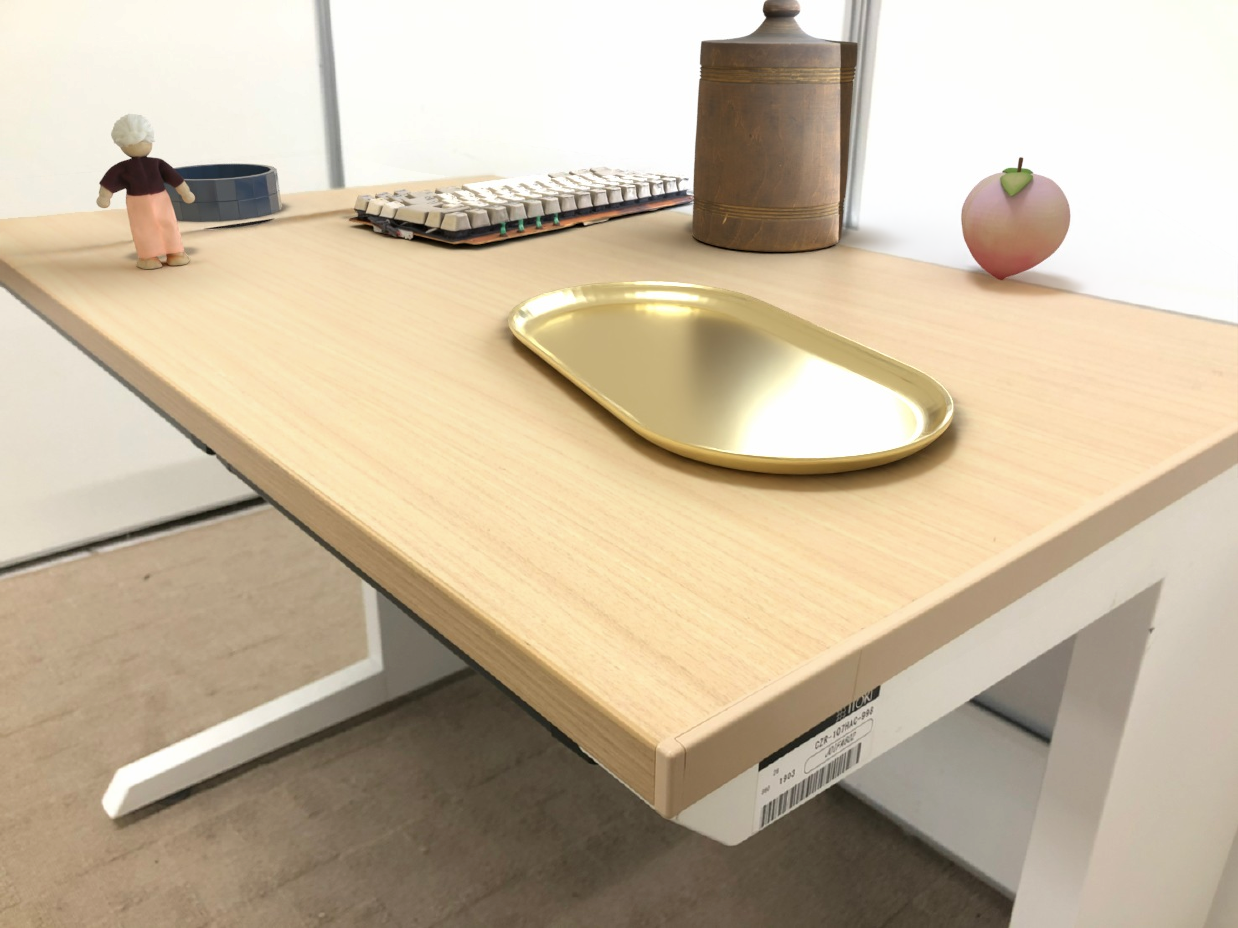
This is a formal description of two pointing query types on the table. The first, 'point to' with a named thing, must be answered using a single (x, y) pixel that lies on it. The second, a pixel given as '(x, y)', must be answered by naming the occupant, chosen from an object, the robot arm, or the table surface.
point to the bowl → (227, 193)
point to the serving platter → (733, 377)
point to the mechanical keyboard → (519, 204)
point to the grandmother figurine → (146, 194)
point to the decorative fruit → (1014, 221)
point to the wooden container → (773, 137)
